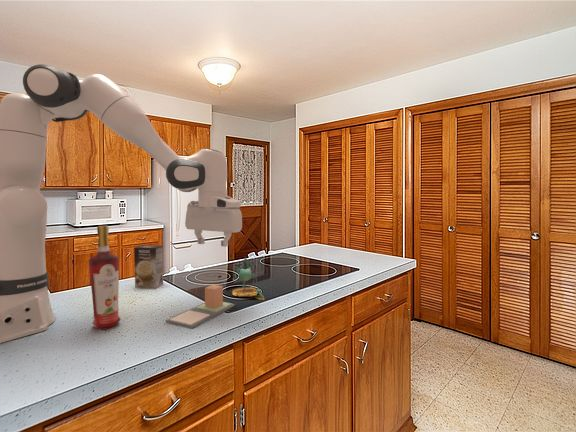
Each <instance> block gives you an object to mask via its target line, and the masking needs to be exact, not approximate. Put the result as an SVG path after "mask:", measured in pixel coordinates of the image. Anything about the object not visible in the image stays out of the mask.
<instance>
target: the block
mask: <svg viewBox="0 0 576 432" xmlns="http://www.w3.org/2000/svg"><path fill="white" fill-rule="evenodd" d="M223 302H224V287H223V285H218V284H211V285H208V286H206V287H204V303H205V306H207V307H212V308H216V307H219V306H221V305H223Z"/></svg>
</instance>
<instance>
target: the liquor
mask: <svg viewBox="0 0 576 432" xmlns="http://www.w3.org/2000/svg"><path fill="white" fill-rule="evenodd" d="M96 227H97V228H96V231H97V232H96V233H97V236H98V241H97V244H98V245H97V254H95V255H94V256H92V257H91V258H90V259H88V268H89V269H88V270H89V279H90V286H91V287H90V288H91V295H92V296H91V297H92V307H93V308H92V309H93V322H92V325H93V326H94V327H96V328H97V329H99V330H106V329H110V328H113V327H114V326H116V325H117V324H118V323H119V322H120V321H121V317H120V316H119V285H120V284H119V283H120V281H119V280H120V279H119V278H120V257H118V255H116V254H112V253H111V252H110V244H109V237H108V236H109V232H110V231H109V225H98V226H96Z"/></svg>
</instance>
